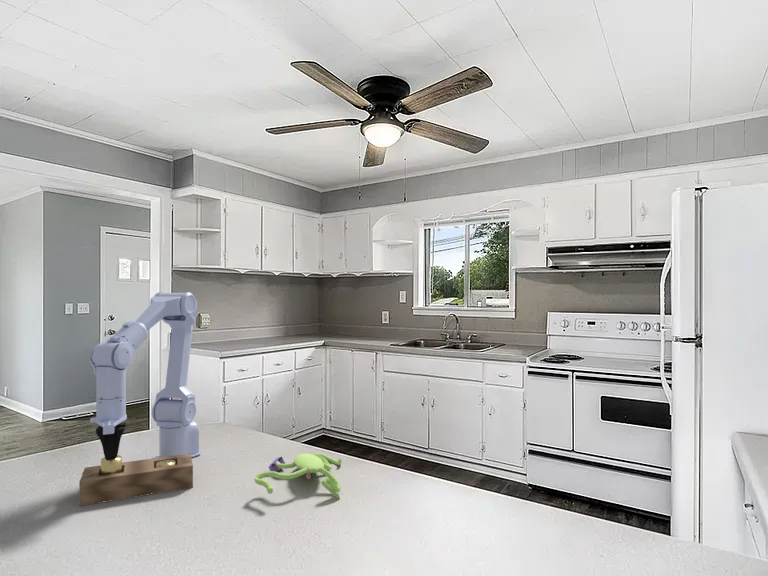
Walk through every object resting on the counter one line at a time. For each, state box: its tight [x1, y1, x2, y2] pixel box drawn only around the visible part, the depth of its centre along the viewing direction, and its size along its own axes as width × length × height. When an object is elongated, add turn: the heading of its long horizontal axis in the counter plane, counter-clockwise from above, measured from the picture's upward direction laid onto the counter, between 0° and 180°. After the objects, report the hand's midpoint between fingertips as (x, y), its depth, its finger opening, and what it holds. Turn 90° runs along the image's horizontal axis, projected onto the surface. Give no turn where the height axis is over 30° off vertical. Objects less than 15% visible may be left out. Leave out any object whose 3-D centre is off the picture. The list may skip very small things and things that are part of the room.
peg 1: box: [100, 454, 123, 476], centre depth 108 cm, size 4×4×5 cm
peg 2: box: [156, 460, 175, 468], centre depth 113 cm, size 4×4×5 cm
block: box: [78, 453, 194, 507], centre depth 110 cm, size 22×9×5 cm, turn 115°
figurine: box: [253, 452, 343, 500], centre depth 114 cm, size 18×27×6 cm
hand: (111, 458), depth 108 cm, fingers closed, pressing on peg 1
